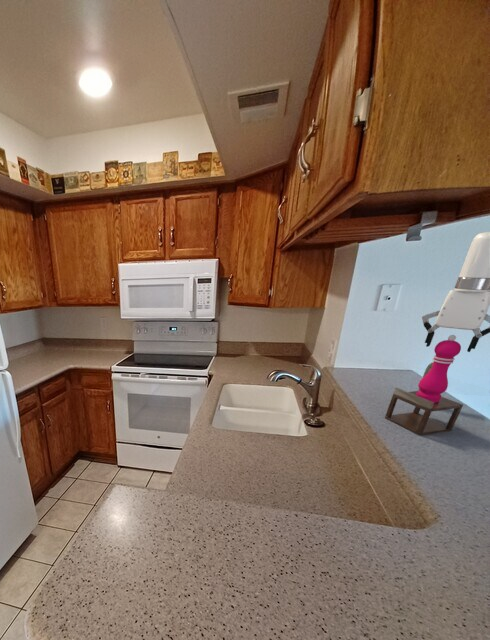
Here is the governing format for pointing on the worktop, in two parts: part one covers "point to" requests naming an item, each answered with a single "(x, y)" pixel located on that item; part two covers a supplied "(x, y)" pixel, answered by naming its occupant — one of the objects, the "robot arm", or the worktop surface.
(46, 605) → the worktop surface
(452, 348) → the pepper mill
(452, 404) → the shelf
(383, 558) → the worktop surface
